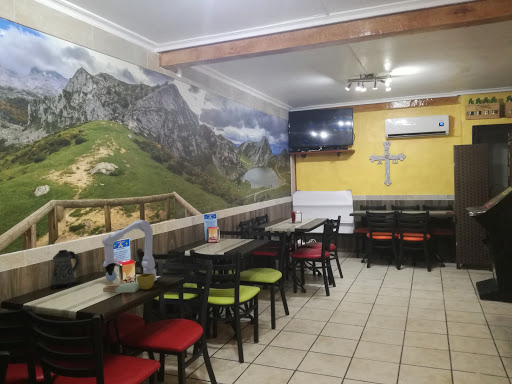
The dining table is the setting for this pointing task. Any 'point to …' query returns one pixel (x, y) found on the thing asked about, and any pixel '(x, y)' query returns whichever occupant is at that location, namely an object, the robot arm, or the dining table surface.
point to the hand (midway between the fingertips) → (110, 274)
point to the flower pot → (145, 280)
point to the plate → (111, 276)
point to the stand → (110, 288)
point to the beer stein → (64, 269)
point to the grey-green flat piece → (128, 287)
